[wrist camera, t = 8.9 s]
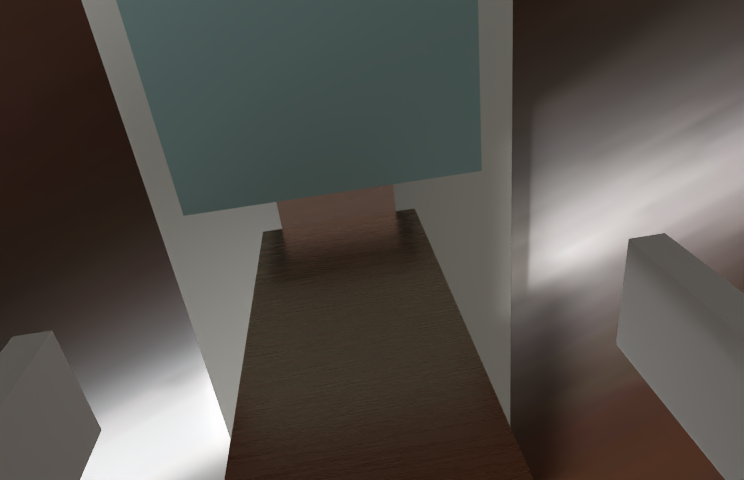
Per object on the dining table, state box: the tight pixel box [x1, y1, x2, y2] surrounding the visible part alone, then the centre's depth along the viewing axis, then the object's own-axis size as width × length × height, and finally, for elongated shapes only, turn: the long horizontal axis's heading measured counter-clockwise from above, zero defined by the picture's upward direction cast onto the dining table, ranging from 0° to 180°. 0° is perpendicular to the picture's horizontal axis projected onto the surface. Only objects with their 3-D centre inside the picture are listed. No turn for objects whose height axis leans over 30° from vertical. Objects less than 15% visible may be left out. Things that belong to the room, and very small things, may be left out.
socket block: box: [116, 0, 482, 216], centre depth 14 cm, size 5×7×5 cm
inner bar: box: [225, 184, 533, 480], centre depth 13 cm, size 16×4×13 cm, turn 7°
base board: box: [82, 0, 513, 438], centre depth 22 cm, size 31×12×1 cm, turn 7°
